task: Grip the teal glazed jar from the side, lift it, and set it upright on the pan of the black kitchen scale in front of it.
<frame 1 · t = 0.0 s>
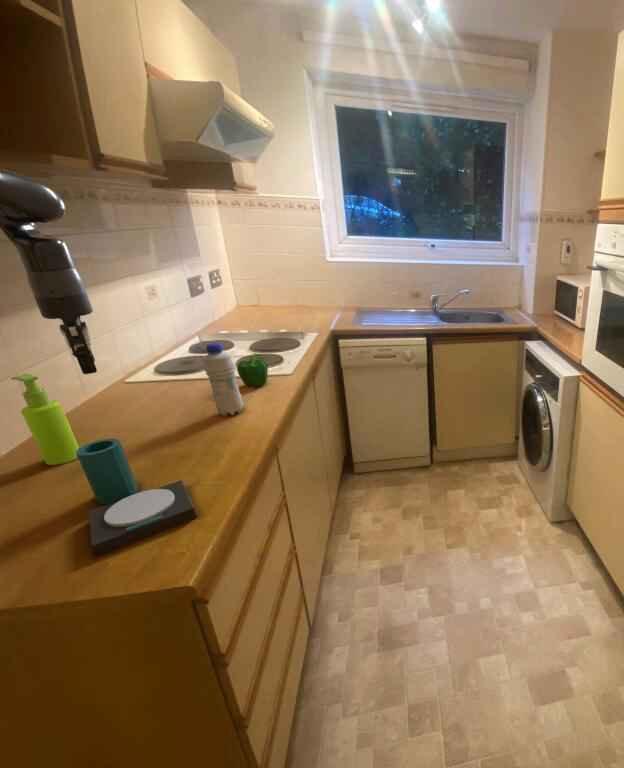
hand: (89, 367, 93), 21 cm above the countertop, tool pointing down, fingers open, 8 cm apart
jar: (118, 494, 87), on the countertop
bell pepper: (257, 385, 139), on the countertop
scale: (145, 519, 80), on the countertop
soap dispenser: (63, 458, 99), on the countertop
bottle: (232, 413, 121), on the countertop
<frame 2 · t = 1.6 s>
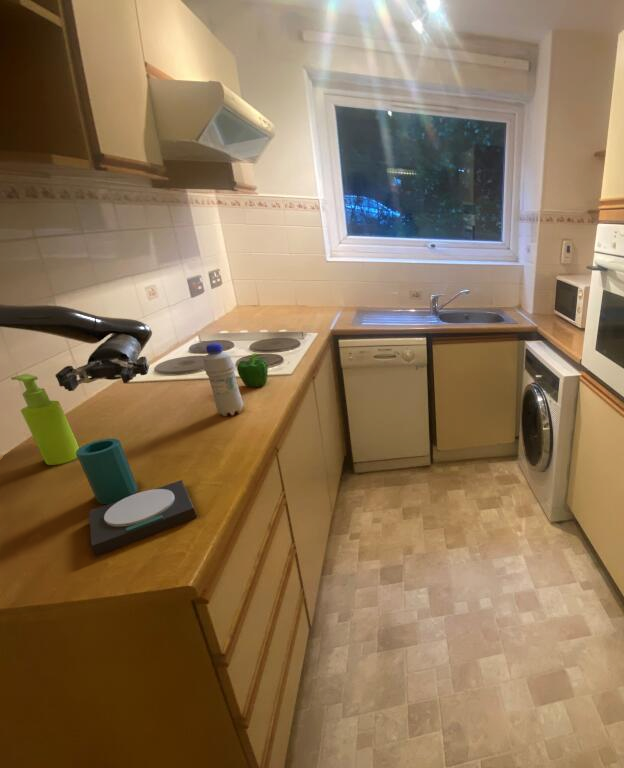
hand: (96, 382, 88), 20 cm above the countertop, tool horizontal, fingers open, 8 cm apart
nothing on the countertop moved.
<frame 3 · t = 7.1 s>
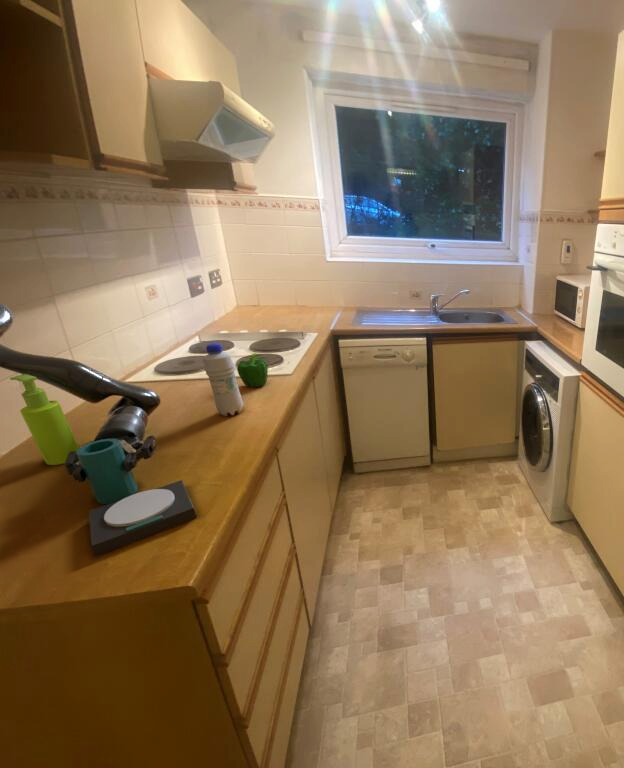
hand: (103, 472, 82), 7 cm above the countertop, tool horizontal, fingers closed on jar, 6 cm apart
jar: (118, 494, 87), on the countertop, touching gripper
soap dispenser: (62, 458, 99), on the countertop, touching arm
everything else where it was.
when the fingers open (9 cm above the countertop, at t = 14.4 s): jar stays where it is, resting on scale.
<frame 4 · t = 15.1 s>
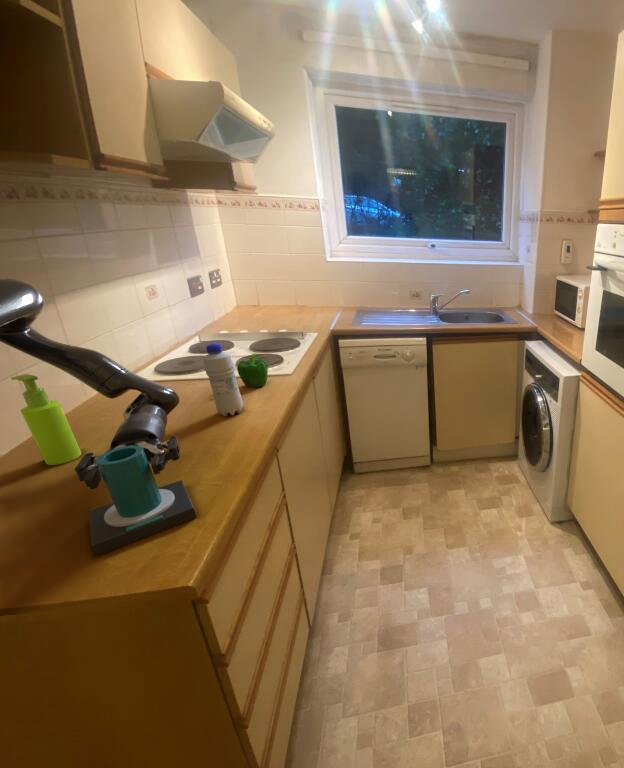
hand: (124, 476, 74), 10 cm above the countertop, tool horizontal, fingers open, 8 cm apart
jar: (140, 506, 79), point 3 cm above the countertop, touching scale
soap dispenser: (63, 458, 99), on the countertop
everything else where it was.
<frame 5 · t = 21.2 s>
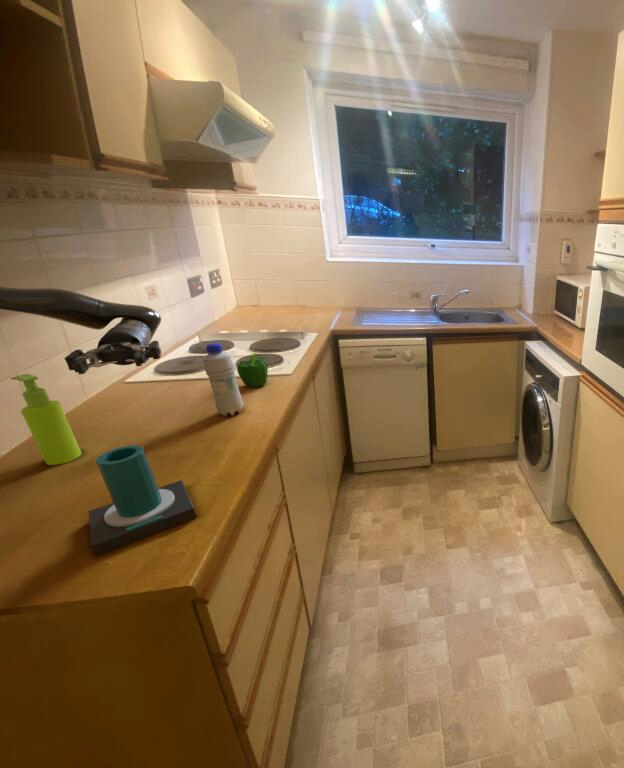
hand: (108, 365, 83), 25 cm above the countertop, tool horizontal, fingers open, 8 cm apart
nothing on the countertop moved.
at the end: jar 0.4 cm off-centre on the scale, point 2.8 cm above the scale's base; jar tilted 0°; the gripper is holding nothing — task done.
